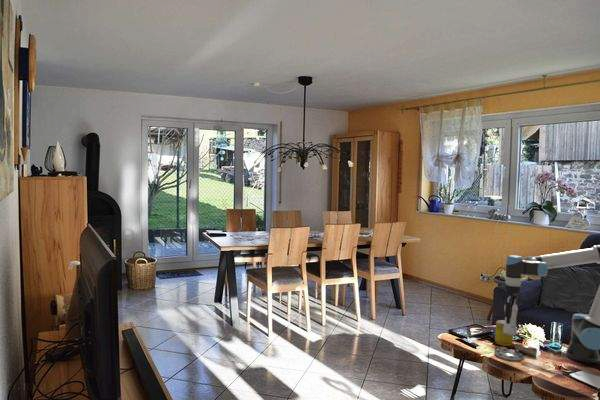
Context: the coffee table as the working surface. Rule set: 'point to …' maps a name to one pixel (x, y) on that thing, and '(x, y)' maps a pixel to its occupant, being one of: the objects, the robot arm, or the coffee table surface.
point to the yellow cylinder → (502, 335)
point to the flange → (508, 354)
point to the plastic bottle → (513, 324)
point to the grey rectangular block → (526, 350)
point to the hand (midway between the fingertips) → (510, 327)
